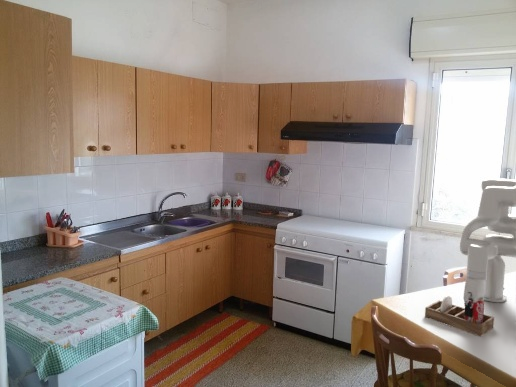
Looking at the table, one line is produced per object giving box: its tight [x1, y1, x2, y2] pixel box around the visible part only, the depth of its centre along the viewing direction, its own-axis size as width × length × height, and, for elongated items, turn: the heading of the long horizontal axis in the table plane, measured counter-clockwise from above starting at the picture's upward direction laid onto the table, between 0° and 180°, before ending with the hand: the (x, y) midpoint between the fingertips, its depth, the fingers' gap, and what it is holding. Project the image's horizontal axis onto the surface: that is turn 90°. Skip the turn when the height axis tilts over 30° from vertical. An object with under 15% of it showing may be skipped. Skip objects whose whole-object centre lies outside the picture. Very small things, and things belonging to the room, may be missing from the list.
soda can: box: [464, 298, 485, 325], centre depth 182 cm, size 7×7×12 cm
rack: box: [424, 300, 495, 337], centre depth 187 cm, size 12×24×4 cm, turn 40°
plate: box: [440, 295, 453, 313], centre depth 191 cm, size 9×1×9 cm, turn 130°
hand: (473, 313), depth 182 cm, fingers open, 9 cm apart
